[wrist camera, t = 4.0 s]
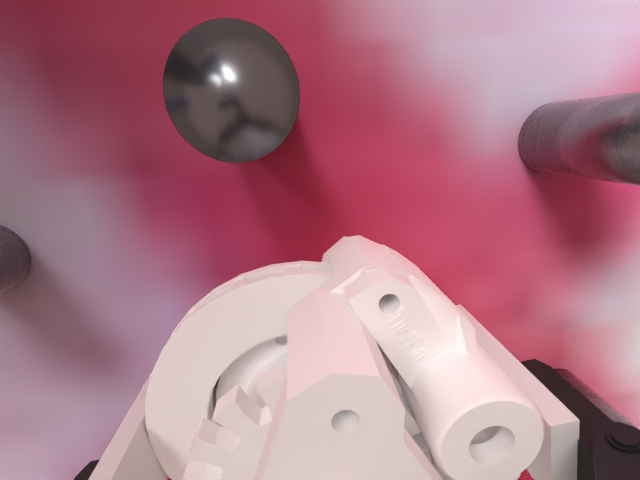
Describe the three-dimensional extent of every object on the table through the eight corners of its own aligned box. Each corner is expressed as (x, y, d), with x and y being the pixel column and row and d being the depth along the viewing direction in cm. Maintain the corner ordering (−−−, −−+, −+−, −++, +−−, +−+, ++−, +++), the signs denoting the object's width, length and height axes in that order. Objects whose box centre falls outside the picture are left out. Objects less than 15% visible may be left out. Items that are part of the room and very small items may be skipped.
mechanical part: (137, 315, 17) (-179, 692, 5) (352, 170, 16) (520, 258, 4) (278, 462, 20) (264, 896, 9) (465, 349, 19) (731, 673, 7)
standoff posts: (-106, 145, 14) (-473, 154, 7) (584, 6, 15) (835, -104, 8) (117, 562, 21) (36, 764, 14) (576, 453, 22) (706, 596, 15)
